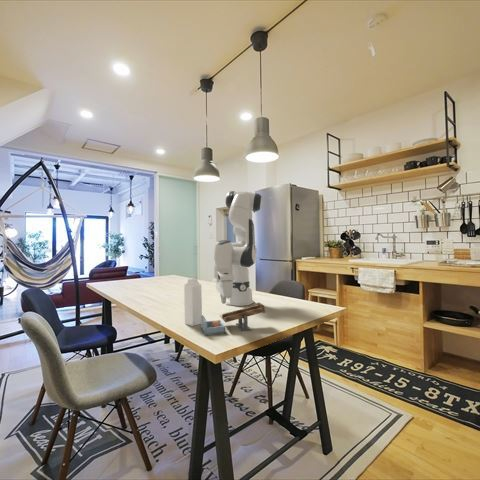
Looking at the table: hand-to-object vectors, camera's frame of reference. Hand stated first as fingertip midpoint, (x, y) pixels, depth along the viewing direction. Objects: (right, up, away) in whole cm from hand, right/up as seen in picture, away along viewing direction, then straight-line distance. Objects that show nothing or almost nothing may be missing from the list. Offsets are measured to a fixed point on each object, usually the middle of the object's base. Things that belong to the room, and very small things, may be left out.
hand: (223, 302), depth 131 cm
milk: (-15, -11, +3) cm, 19 cm away
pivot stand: (+9, -10, -4) cm, 15 cm away
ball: (-3, -8, -8) cm, 12 cm away
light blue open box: (-4, -11, -9) cm, 14 cm away
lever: (+9, -6, -2) cm, 11 cm away
